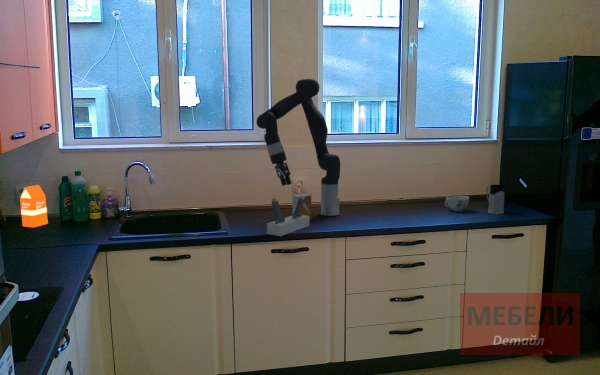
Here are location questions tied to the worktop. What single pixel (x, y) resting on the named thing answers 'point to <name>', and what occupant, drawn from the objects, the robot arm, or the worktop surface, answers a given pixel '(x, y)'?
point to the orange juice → (33, 207)
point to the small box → (306, 205)
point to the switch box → (287, 225)
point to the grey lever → (299, 205)
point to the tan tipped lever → (277, 209)
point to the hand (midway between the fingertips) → (286, 184)
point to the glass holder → (496, 199)
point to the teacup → (457, 202)
